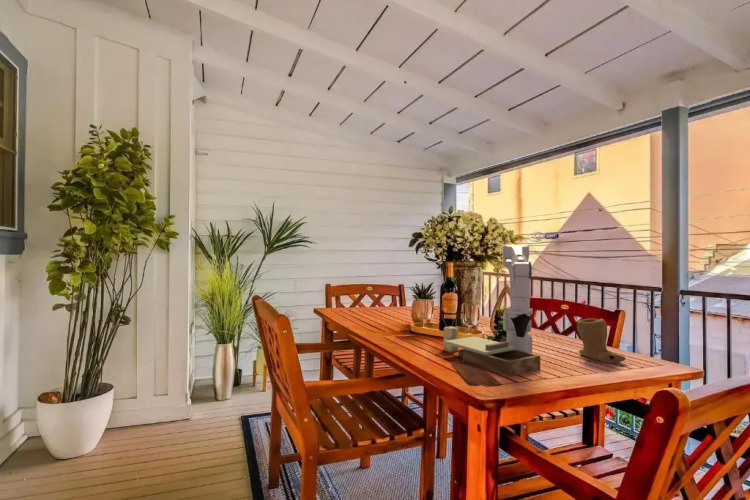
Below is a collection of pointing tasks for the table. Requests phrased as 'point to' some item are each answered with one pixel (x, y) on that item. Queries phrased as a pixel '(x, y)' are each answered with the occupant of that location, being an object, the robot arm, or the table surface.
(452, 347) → the beige tall block
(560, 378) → the table surface
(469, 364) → the wooden tablet
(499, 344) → the lid
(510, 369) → the shallow rectangular box
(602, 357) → the brown suede boot
